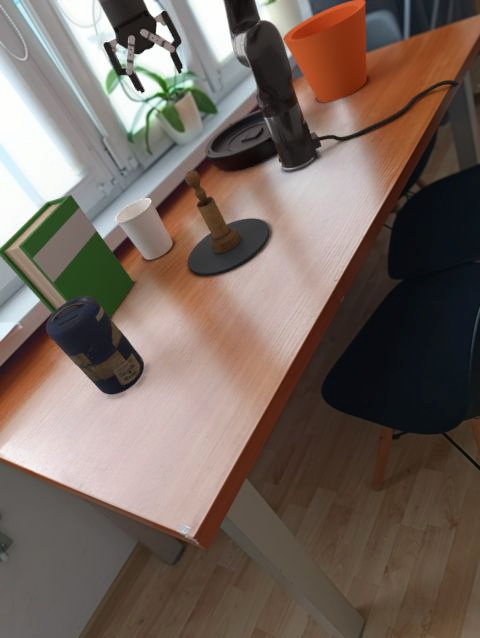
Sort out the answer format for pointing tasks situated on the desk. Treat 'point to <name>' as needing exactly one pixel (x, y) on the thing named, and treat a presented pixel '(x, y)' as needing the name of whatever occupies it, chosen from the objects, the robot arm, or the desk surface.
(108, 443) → the desk surface
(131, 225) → the white cup
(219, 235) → the brown wooden turned piece
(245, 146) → the black round plastic slab
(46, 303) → the hardback book
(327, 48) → the flowerpot
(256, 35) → the robot arm
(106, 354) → the canister
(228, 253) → the disc
